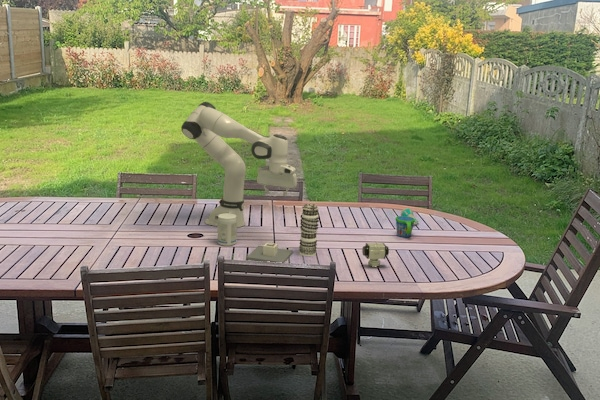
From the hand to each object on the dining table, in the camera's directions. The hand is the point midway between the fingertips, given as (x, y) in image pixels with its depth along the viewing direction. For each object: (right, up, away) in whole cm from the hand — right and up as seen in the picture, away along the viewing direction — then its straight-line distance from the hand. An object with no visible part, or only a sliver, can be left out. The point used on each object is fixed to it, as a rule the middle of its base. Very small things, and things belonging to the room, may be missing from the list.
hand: (275, 194), depth 304 cm
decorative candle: (+16, -30, -4) cm, 34 cm away
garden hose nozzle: (+77, -17, +59) cm, 98 cm away
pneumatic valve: (+47, -35, -17) cm, 61 cm away
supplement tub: (-25, -25, +4) cm, 36 cm away
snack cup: (+70, -23, +33) cm, 81 cm away
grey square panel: (-2, -30, -11) cm, 32 cm away
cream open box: (-2, -29, -11) cm, 31 cm away
